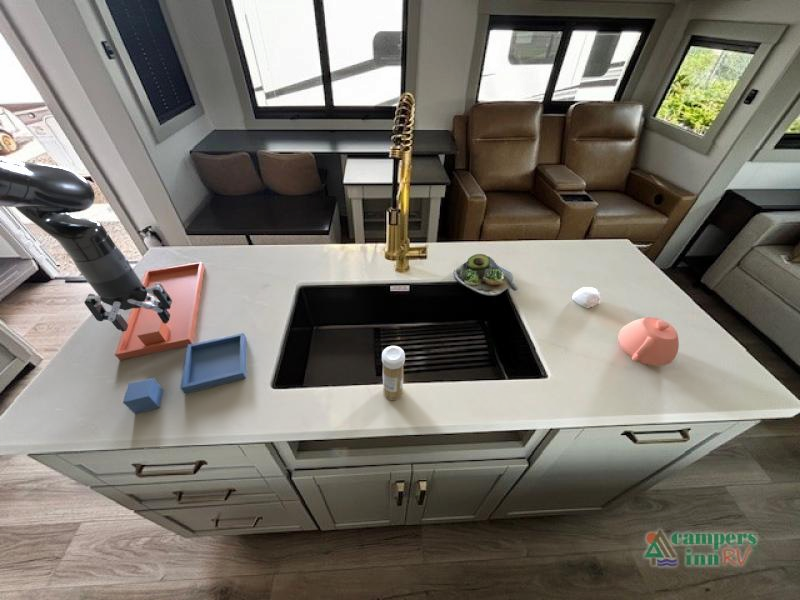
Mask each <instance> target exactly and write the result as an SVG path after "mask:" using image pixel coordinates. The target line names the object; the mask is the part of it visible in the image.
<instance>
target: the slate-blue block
mask: <svg viewBox="0 0 800 600" xmlns="http://www.w3.org/2000/svg"><path fill="white" fill-rule="evenodd" d="M163 393H164V388H162V386H161V385H160V384H159V383H158V382H157V380H155V378H154V377H152V378H147V379H143V380H139V381H135V382H130V383H128V384H127V388H126V392H125V394H124V398H123V401H122V403H123V404H124V405H125V406H126V407H127V408H128V409H129V410H130V411H131V412H132V413H133V414H134V415H136V414H139V413H140V414H141V413H144V412H148V411H151V410H155V409H159V408H161V407H160V406H161V403H162V398H163Z"/></svg>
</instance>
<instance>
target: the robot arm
mask: <svg viewBox="0 0 800 600" xmlns="http://www.w3.org/2000/svg"><path fill="white" fill-rule="evenodd" d="M95 196H96V195H95V191H94V189H93V186H92V185H91V184H90V182H89V181H88V180H87V179H86V178H85V177H83V176H82V175H81V174H79V173H78V172H75V171H73V170H71V169H69V168H65V167H63V166H56V165H50V164H44V163H36V162H27V161H20V160H15V159H11V158H9V157H6V156H2V155H0V207H7V208H15V209H16V210H17V211H18V212H19V213H20V214H22V216H23V217H25V218H27V219H28V220H29V221H30V222H32V223H33V224H35V225H36V226H37V227H39V228H40V229H41V230H42V231H44V232H45V233H46V234H48V235H49V236H50V237H52V238H53V239H55V240H56V241H57V242H58V243H59V244H60V246H61V247H62V248H63V250H64V251H65V252H66V254H67V255H68V256H69V257H70V258H71V260H72V261H73V263H74V265H75V267H76V268H77V270H78V272H80V274H81V275H82V276H83V278H84V279H85V280H86V282H88V284H89V285H90V287H91V288H92V290H94V291H95V293H96V294H97V295H96V294H94V293H88V295H87V296H86V299H85V300H84V304H85V306H86V308H87V309H88V310H89V311H90V313H91V314H92V316H93V317H94V318H95V319H96V321H97V322H103V321H109V322H111V324H113V326H114V327H115V329H117V330H119V331H121V333H123V331H127V328H128V324H127V320H125V319H124V317H123V316H122V314H120V313H119V310H123V311H128V310H131V309H132V308H140V307H143V308H145V309H148V310H149V309H152V310H154V311H156V312H157V314H158V315H159V317H160V318H161V320H162V321H163V323H164V324H165V323H168V321H169V320H170V314H169V312H168V311H167V309H170V307H171V303H172V299H171V298H170V296H169V295H168V294H167V292H166V291H165V289H164V288H163V286H162V285H161V284H160V283H156V284H155V285H154V286H151V287H145V286H143V285H142V284H141V282H142V281H141V280H140V278H139V276H138V275H137V273H136V272H135V270H134V269H133V267H132V265H131V264H130V262H129V260H128V259H127V258H126V257H125V255H124V254H123V252H122V251H121V250H120V249H119V247H118V246H117V245H116V244H115V241H113V239H112V238H111V236H110V235H109V233H108V231H107V230H106V228H105V227H104V225H102V223H100V222H99V221H98V220H95V219H92V218H85V217H80V216H76V215H73V213H81V212H85V211H87V210H88V209H90V208H91V207H92V206H93V205H94V202H95V199H96V197H95ZM148 293H151V294H152V295H153V296H156V297H157V298H158V300H157V299H155V297H153V296H151V295H149V294H148ZM145 299H146V300H148V303H146V302H145ZM102 303H103V304H106V305H108V306H111V309H110V311H107V310H106V308H105V307H104V305H103V304H102ZM154 304H155V305H154ZM156 305H157V306H156ZM118 313H119V314H118Z"/></svg>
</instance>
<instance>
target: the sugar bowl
mask: <svg viewBox="0 0 800 600" xmlns="http://www.w3.org/2000/svg"><path fill="white" fill-rule="evenodd" d="M678 334H679V333H678V331H677V330H676V328H675V327H674V326H673V325H672V324H670V323H669V322H667V321H666V320H663V319H661V318H658V317H654V316H653V317H652V316H648V317H643V318H639V319H636V320H633V321H631V322H629V323H627V324H626V325H624V326H623V327H622V328H621V329H620V330H619V332H618V336H617V337H618V343H619V345H620V347H621V349H622V351H624V353H626V355H627V356H629V357H630V358H631V360H632V361H633V362H635V363H638V362H639V363H642V364H644V365H647V364H648V366H659V367H660V366H666V365H668V364H671V363H672V362H673V361H674V359H676V357H677V354H678V352H679V347H680V342H679V335H678Z"/></svg>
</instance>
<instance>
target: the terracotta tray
mask: <svg viewBox="0 0 800 600" xmlns="http://www.w3.org/2000/svg"><path fill="white" fill-rule="evenodd" d="M205 269H206V268H205V265H204V263H203V261H199V262H193V263H186V264H180V265H174V266H173V265H172V266H167V267H162V268H155V269H148V270H145V272H144V274H143V277H142V279H141V281H140V282H141V284H142V285H143V286H145V287H151V286H154V285H155V284H156V283H160V284H161V285H162V286H163V288H164V289H165V291H166V292H167V294H168V295H169V296H170V298H171V299H172V303H171V307H170V309H167V311H168V312H169V314H170V320H169V321H168V323H166V325H167V326H168V328H169V329H170V334H169V339H168V341H167V342H162V343H157V344H153V345H148V346H145V345H144V344H143V343H142V341H141V340H140V339H139V338H138V336H137V334H138V331H139V328H140V325H141V322H146V321H152V320H157V319H161V318H160V317H159V315H158V314H157V312H156V311H154V310H152V309H149V310H148V309H145V308H143V307H140V308H131V309H130V312H129V314H128V318H127V320H126V323H127V324H128V328H127V331H123V332H121V337H120V338H119V341H118V344H117V346H116V350H115V353H114V356H115V357H116V358H117V359H118V360H119V361H124V360H127V359H132V358H136V357H141V356H145V355H150V354H155V353H159V352H164V351H169V350H173V349H178V348H182V347H188V345H190V344H194V337H195V330H196V325H197V318H198V312H199V307H200V306H199V305H200V301H201V294H202V293H201V292H202V288H203V280H204V275H205ZM148 294H149V295H151V296H153V295H152V294H151V293H148ZM153 297H155V299H157V300H158V298H157V297H156V296H153ZM145 302H146V303H148V300H146V299H145ZM154 305H155V304H154ZM156 306H157V305H156Z"/></svg>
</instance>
